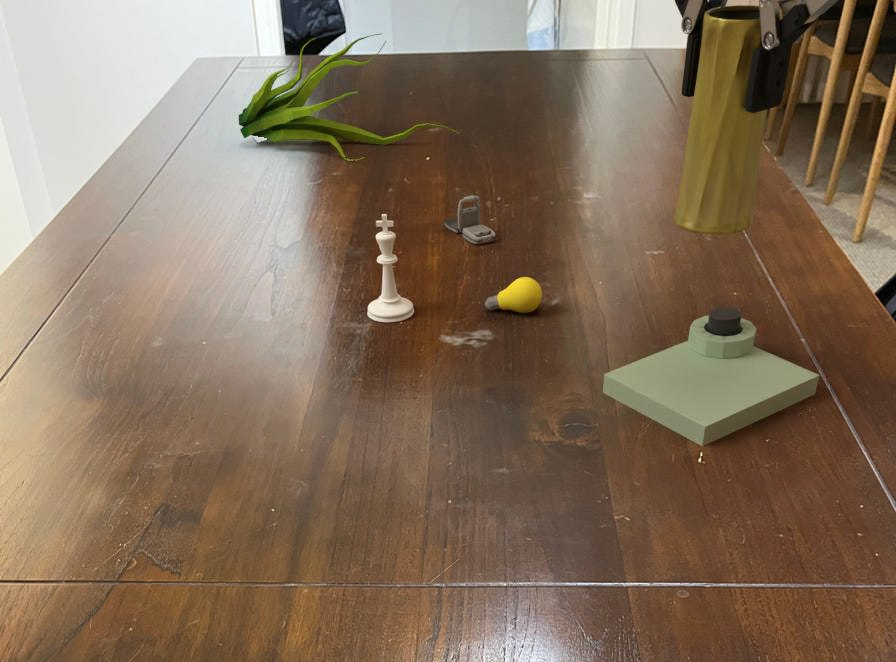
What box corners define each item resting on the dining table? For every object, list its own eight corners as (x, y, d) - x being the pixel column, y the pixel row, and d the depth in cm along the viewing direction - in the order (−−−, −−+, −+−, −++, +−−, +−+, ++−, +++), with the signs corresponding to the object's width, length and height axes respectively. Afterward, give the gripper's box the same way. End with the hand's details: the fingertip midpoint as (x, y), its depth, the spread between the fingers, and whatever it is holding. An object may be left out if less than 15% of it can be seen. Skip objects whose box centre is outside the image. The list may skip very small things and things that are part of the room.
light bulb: (545, 315, 103) (536, 288, 100) (490, 329, 105) (479, 303, 102) (546, 293, 105) (537, 266, 102) (491, 307, 107) (481, 280, 104)
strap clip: (498, 241, 119) (498, 204, 117) (475, 246, 118) (475, 209, 116) (463, 220, 125) (463, 184, 122) (441, 225, 124) (441, 189, 121)
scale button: (721, 322, 93) (724, 304, 92) (745, 332, 91) (748, 313, 90) (700, 330, 92) (702, 312, 91) (723, 341, 90) (726, 322, 89)
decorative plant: (377, 181, 139) (368, 60, 129) (235, 146, 154) (218, 36, 144) (459, 147, 148) (457, 32, 139) (318, 117, 164) (308, 12, 154)
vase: (706, 242, 76) (737, 25, 67) (656, 218, 81) (679, 11, 71) (769, 225, 78) (808, 12, 69) (717, 203, 82) (747, 0, 73)
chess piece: (371, 302, 108) (364, 206, 101) (417, 303, 107) (412, 206, 100) (363, 322, 104) (354, 223, 97) (410, 323, 103) (405, 223, 97)
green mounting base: (715, 344, 97) (721, 309, 94) (821, 391, 89) (830, 354, 86) (599, 391, 91) (602, 355, 88) (702, 447, 83) (708, 408, 80)
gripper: (939, -233, 58) (861, 113, 70) (714, -226, 69) (681, 72, 81) (853, -224, 55) (788, 135, 67) (633, -219, 66) (611, 89, 78)
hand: (730, 98), depth 74 cm, fingers closed on vase, 5 cm apart
